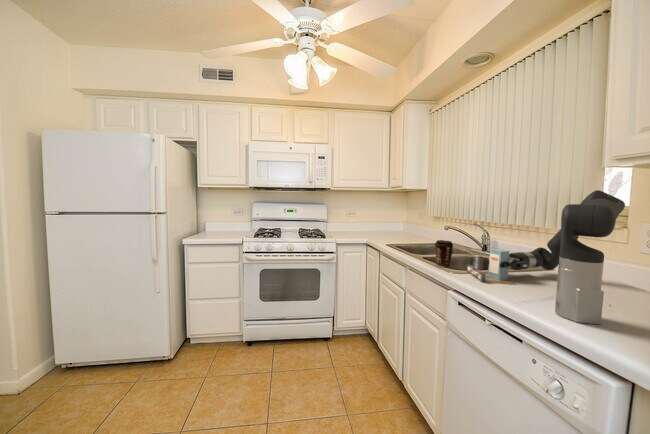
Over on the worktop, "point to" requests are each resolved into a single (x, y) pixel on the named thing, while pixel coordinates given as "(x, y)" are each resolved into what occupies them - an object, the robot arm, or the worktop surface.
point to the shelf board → (485, 276)
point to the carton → (498, 264)
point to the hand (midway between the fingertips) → (494, 263)
